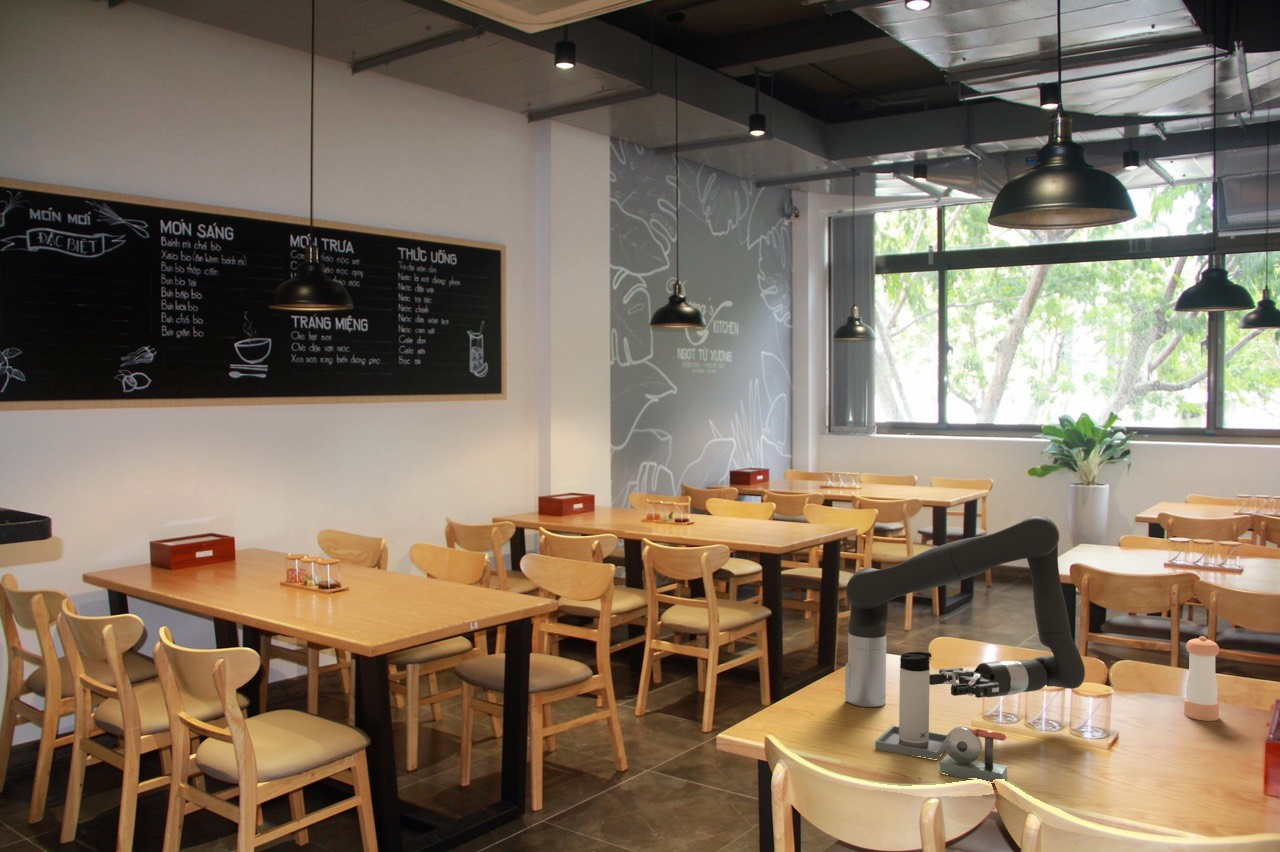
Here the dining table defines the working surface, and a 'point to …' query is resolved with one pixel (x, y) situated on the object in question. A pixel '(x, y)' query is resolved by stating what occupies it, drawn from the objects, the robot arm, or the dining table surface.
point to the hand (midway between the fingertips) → (940, 685)
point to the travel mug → (914, 699)
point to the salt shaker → (1202, 680)
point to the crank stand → (971, 755)
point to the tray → (891, 744)
